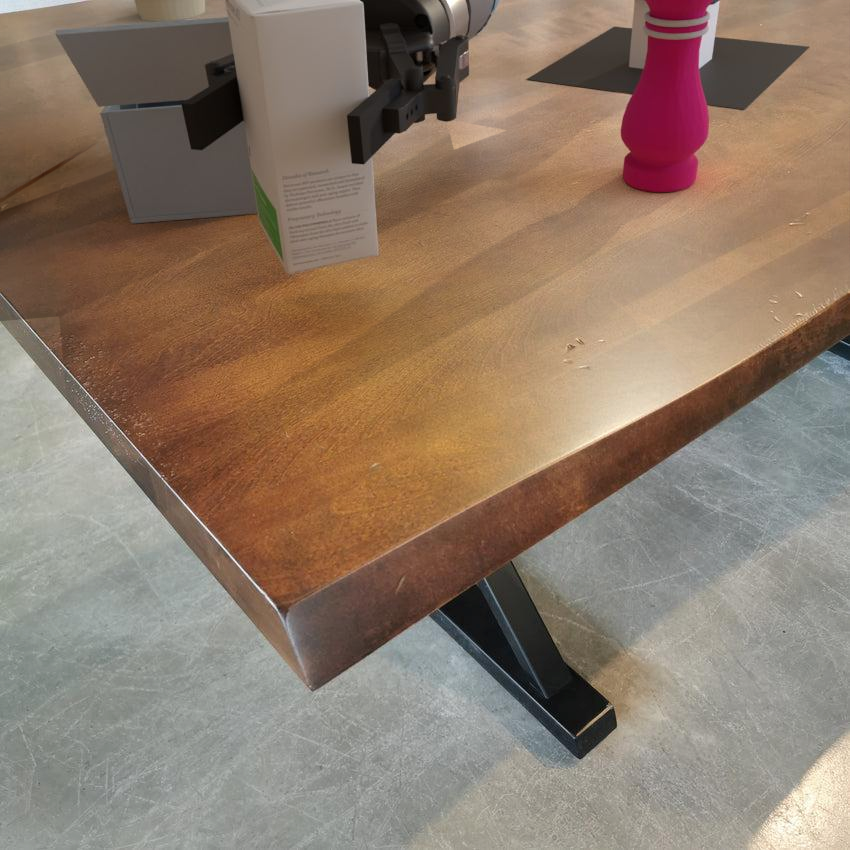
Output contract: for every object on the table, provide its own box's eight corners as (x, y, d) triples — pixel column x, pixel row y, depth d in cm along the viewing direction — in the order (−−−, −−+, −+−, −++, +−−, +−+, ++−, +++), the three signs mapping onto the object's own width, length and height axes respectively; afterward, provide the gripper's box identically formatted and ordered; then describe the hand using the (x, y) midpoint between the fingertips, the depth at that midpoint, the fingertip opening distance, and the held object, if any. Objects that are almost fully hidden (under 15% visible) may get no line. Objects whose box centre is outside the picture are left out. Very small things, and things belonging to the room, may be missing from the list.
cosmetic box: (259, 226, 61) (215, -20, 52) (350, 207, 63) (323, -34, 53) (287, 279, 55) (243, 10, 45) (388, 257, 57) (365, -7, 47)
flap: (274, 89, 70) (274, 93, 70) (98, 102, 70) (98, 107, 70) (254, 14, 62) (254, 19, 62) (55, 29, 62) (55, 34, 62)
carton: (293, 210, 76) (274, 89, 70) (131, 224, 76) (97, 102, 70) (301, 140, 90) (286, 33, 83) (163, 151, 89) (137, 44, 83)
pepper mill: (665, 202, 73) (698, -69, 61) (599, 179, 78) (617, -78, 66) (718, 177, 77) (759, -85, 65) (652, 156, 81) (679, -93, 69)
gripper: (548, 88, 66) (459, 214, 50) (279, 73, 72) (122, 179, 56) (552, -22, 61) (456, 76, 45) (265, -28, 68) (88, 56, 51)
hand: (271, 133), depth 50 cm, fingers closed on cosmetic box, 10 cm apart
